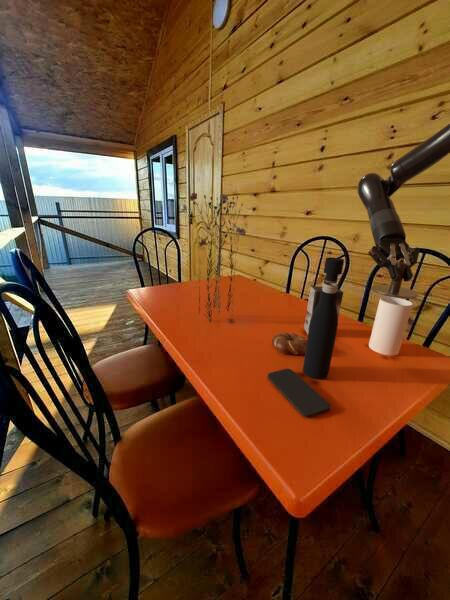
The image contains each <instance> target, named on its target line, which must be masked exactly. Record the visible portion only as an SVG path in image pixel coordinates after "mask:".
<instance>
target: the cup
mask: <svg viewBox="0 0 450 600" xmlns="http://www.w3.org/2000/svg"><path fill="white" fill-rule="evenodd" d="M413 305H414V303H413V302H411V301H410V300H408V299H404V298H395V297H390V296H382V297H380V298H379V302H378V305H377V308H376V309H377V310H376V313H375V317H374V322H373V325H372V329H371V335H370V337H369V341H368V348H369V349H370V350H371V351H373V352H375V353H378V354H380V355H384V356H390V357H391V356H392V357H393V356H398V355H399V354H400V350H401V346H402V343H403V340H404V337H405V333H406V330H407V326H408V323H409V319H410V316H411V313H412V309H413Z"/></svg>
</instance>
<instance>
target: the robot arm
mask: <svg viewBox="0 0 450 600" xmlns="http://www.w3.org/2000/svg"><path fill="white" fill-rule="evenodd" d="M449 154H450V123H448V124H447V125H446V126H444V127H443V128H441V129H440V130H438V131H437V132H436V133H434V134H432V135H431V136H430V137H428V138H427V139H425V140H424V141H423V142H421V143H419V144H418V145H417V146H415V147H414V148H412V149H411V150H408V152H406V153H405V154H403V155H402V156H400V157H399V158H398V159H396V160H395V161H393V162H392V163H391V164H390V166H389V172H390V175H389V176H388V177H387V178H386V179H384V178H383V176H381V174H379V173H376V172H368V173H366V174H365V175H363V176H362V177H361V178H360V180H359V181H358V183H357V188H356V189H357V195H358V196H359V199H360V201H361V203H362V205H363V206H364V208H365V210H366V214H367V216H368V221H369V227H370V231H371V234H372V239H373V241H374V245H372V247H371V248H370V249H369V250H368V252H367V254H368V255H369V256H370V257H371V258H372V260H373V261H374V262H375V263H376V264H377V265H378V266H379V268H386V270H387V271H388V275H389V277H390V279H391V280H393V281H397V280H399V279H400V277H401V276H400V273H399V270H398V267H397V266H395V265H396V263H405V264H407V265H406V269H405V272H404V276H403V282H410V281H411V280H412V279H413V277H414V275H413V272H412V269H411V268H412V267H414V266H415V265H416V264H418V259H419V256H420V251H421V249H420V248H419V247H417V246H416V247H415V248H414V247H411V246H410V245H409V244H408V242H407V240H406V238H407V234H406V232H405V231H406V230H405V229H404V226H403V223H402V220H401V217H400V215H399V214H398V212H397V209H396V206H395V204H394V202H393V199H391V197H392V196H393V195H394V194H395V193H396V192H397V191H398V190H400V189H401V188H402V187H403V186H404V185H405V184H406V183H407V182H408V181H411V180H412V179H414V178H415V177H417V176H419V175H420V174H422V173H423V172H425V171H427V170H429V169H430V168H432V167H433V166H435V165H436V164H438V163H439V162H440V161H441V160H443V159H445V157H447V156H448V155H449Z"/></svg>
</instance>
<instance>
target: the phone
mask: <svg viewBox="0 0 450 600" xmlns="http://www.w3.org/2000/svg"><path fill="white" fill-rule="evenodd" d="M267 379H268V380H269V381H270V382H271V383H272V384H273V386H274V387H275V388H276V389H277V390H278V391H279V392H280V393H281V395H283V396H284V397H285V399H286V400H287V401H288V402H289V403H290V404H291V405H292V406H293V407H294V408H295V409H296V410H297V411H298V413H299V414H300V415H301V416H303V418H312V417H315V416H317V415H320V414H323V413H325V412H329V411H330V410H331V406H332V405H331V404H330V402H328V401H327V400H326V399H325V398H324V397H323V396H322V395H320V393H319V392H317V391H316V390H315V389H314V388H313V387H312V386H311V385H309V384H308V383H307V382H306V381H305V380H304V379H303V378H302V377H301V376H299V374H297V373H296V372H295V371H294V370H293V369H291V368H283V369H280V370H276V371H272V372H268V373H267Z"/></svg>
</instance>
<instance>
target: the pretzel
mask: <svg viewBox="0 0 450 600" xmlns="http://www.w3.org/2000/svg"><path fill="white" fill-rule="evenodd" d="M271 345H272V347H273V348H275V349H276V350H277V351H278V352H279V353H280V354H283V355H294V356H297V355H299V356H302V355H305V351H306V345H307V339H306V337H304V336H303V335H300V336H299V334H297V333H295V332H291V333H289V332H280V333H277V334H275V335H274V336H273V337H272V339H271Z"/></svg>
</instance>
